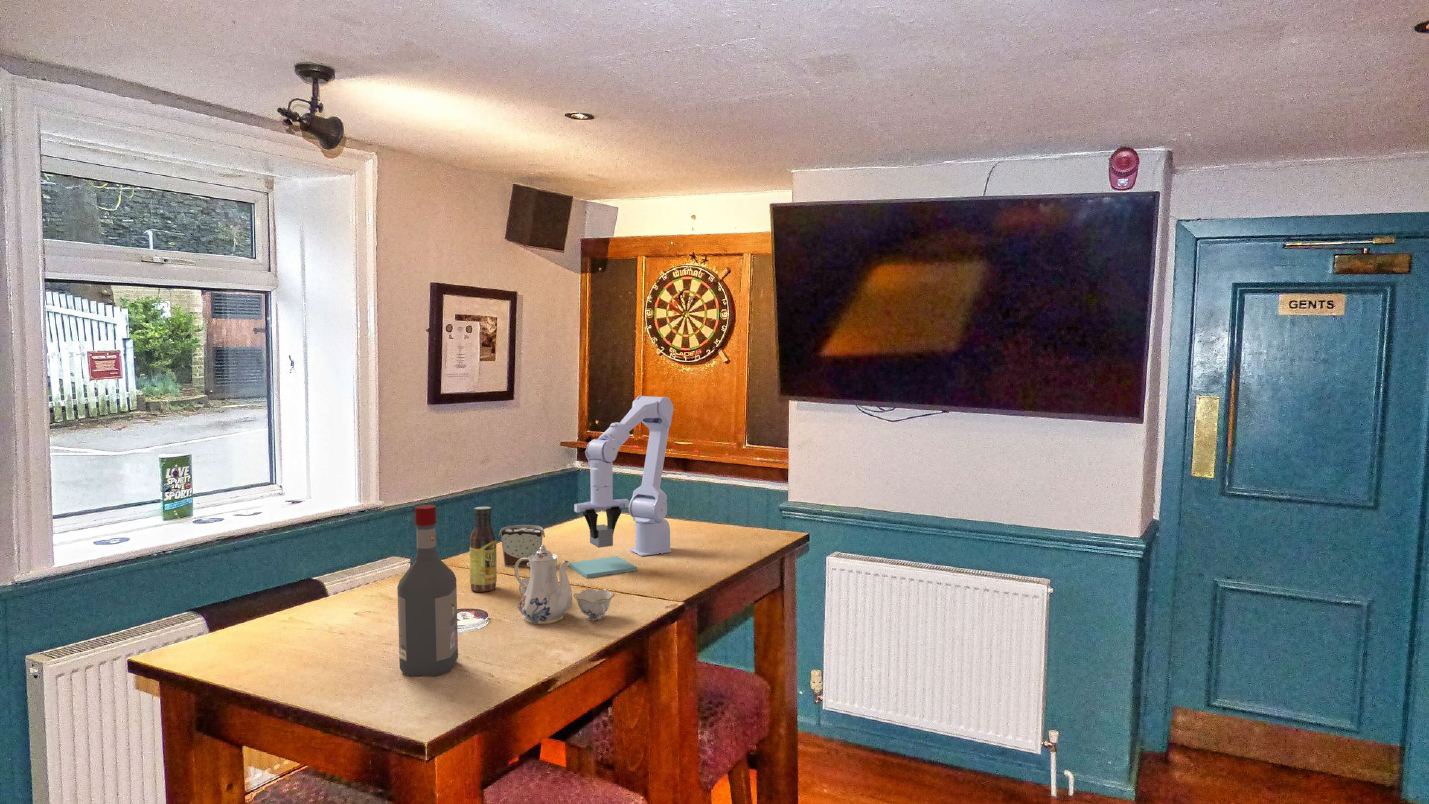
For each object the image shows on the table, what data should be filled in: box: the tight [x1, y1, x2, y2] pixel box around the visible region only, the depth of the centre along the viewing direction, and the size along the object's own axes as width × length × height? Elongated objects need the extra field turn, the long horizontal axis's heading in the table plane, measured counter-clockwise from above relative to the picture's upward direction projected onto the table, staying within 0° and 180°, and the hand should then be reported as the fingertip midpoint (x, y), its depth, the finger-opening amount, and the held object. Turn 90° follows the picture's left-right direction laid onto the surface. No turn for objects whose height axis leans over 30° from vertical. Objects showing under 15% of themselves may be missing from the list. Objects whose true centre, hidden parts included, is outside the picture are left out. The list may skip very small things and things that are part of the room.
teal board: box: [567, 555, 638, 579], centre depth 229 cm, size 14×13×1 cm
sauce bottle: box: [469, 506, 498, 593], centre depth 210 cm, size 7×6×20 cm
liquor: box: [397, 504, 459, 678], centre depth 160 cm, size 9×9×30 cm
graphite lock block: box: [589, 524, 614, 549], centre depth 229 cm, size 4×6×4 cm, turn 30°
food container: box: [498, 524, 546, 568], centre depth 234 cm, size 12×6×10 cm, turn 84°
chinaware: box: [513, 544, 615, 625], centre depth 191 cm, size 28×17×17 cm, turn 59°
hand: (602, 536), depth 228 cm, fingers closed on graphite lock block, 4 cm apart
